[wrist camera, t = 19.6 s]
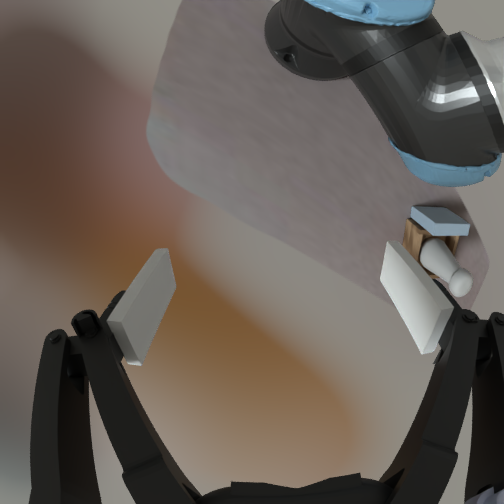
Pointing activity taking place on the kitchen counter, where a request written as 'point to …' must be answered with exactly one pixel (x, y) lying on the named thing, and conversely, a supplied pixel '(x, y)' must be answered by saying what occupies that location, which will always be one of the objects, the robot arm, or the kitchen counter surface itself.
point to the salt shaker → (445, 266)
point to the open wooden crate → (417, 235)
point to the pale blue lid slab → (440, 221)
